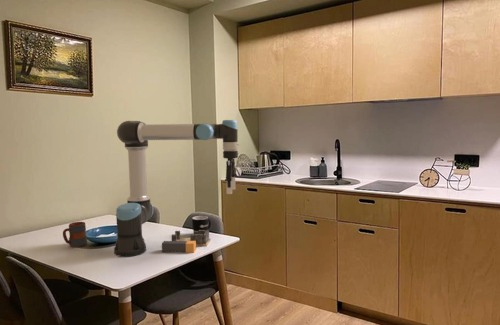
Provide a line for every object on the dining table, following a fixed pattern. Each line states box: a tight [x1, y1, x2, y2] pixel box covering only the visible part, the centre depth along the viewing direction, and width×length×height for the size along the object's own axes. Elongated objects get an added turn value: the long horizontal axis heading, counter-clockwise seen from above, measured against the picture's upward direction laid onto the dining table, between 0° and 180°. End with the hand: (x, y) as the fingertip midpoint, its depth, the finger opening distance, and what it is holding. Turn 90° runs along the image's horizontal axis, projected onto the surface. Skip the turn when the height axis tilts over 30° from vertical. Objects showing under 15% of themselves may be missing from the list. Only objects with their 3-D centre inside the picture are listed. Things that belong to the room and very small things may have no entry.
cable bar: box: [161, 240, 197, 254], centre depth 187 cm, size 16×5×5 cm, turn 86°
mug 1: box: [62, 221, 88, 248], centre depth 197 cm, size 9×12×12 cm
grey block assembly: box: [170, 229, 211, 247], centre depth 199 cm, size 19×10×6 cm, turn 86°
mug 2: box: [191, 215, 212, 234], centre depth 215 cm, size 12×9×10 cm
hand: (231, 191), depth 194 cm, fingers open, 13 cm apart
